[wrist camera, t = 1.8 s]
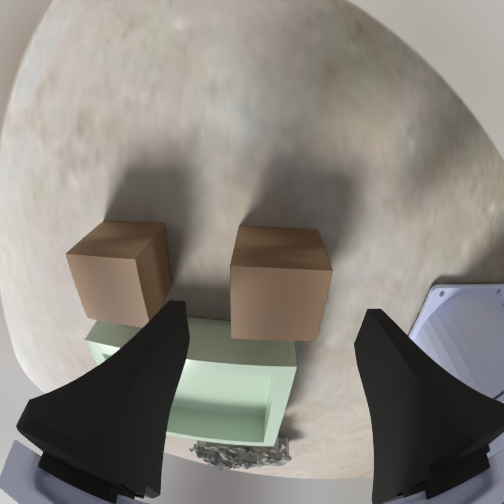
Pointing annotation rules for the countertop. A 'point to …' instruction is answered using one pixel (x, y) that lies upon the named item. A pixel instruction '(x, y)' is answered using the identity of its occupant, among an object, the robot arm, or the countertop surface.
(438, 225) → the countertop surface
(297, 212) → the countertop surface
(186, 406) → the dish
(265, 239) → the block
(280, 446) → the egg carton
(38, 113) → the countertop surface
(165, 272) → the block
